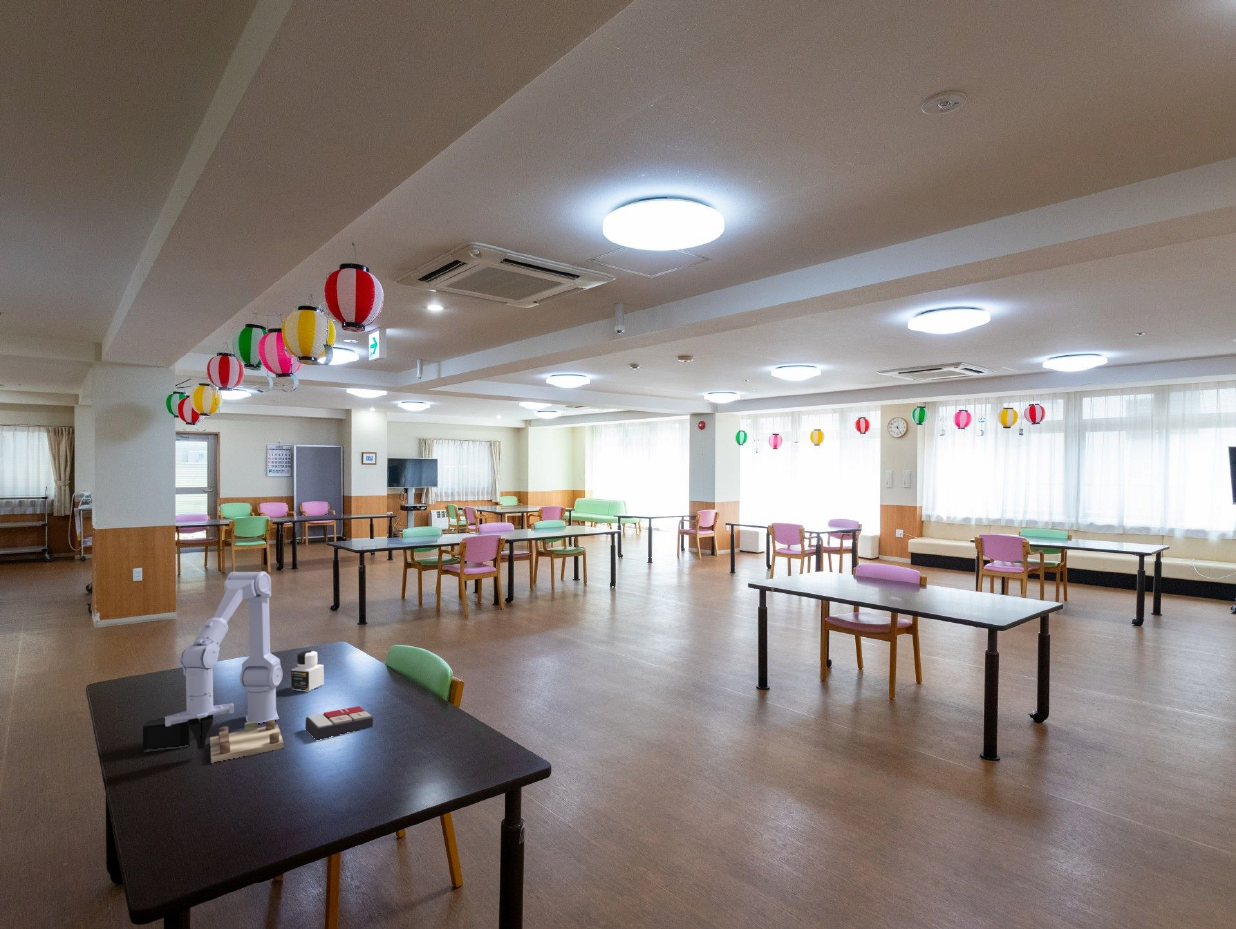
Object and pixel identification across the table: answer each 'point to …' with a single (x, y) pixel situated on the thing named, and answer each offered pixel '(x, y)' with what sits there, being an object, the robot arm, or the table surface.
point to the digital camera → (166, 734)
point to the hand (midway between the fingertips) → (200, 747)
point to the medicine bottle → (307, 672)
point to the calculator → (338, 722)
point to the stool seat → (247, 742)
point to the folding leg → (223, 735)
